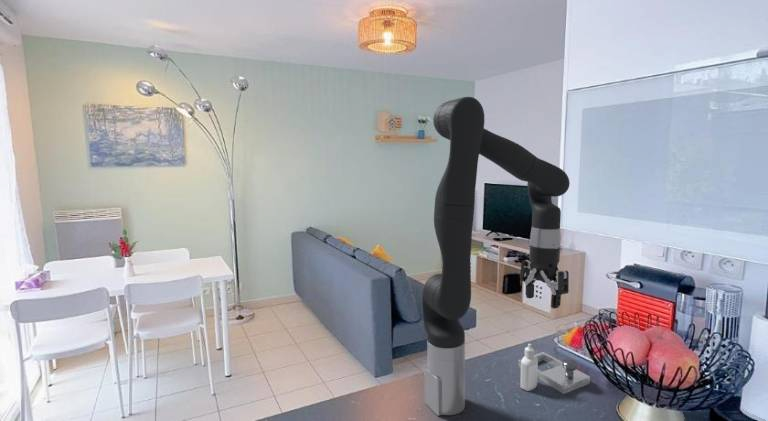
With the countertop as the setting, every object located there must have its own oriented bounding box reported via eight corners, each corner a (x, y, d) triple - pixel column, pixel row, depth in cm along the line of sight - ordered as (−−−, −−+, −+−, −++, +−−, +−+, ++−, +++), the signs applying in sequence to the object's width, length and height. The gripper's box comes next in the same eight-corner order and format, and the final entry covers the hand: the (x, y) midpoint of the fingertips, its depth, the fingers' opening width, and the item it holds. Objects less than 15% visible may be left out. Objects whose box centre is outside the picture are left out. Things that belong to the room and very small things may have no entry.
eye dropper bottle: (543, 388, 108) (544, 346, 106) (524, 392, 106) (525, 349, 105) (533, 380, 112) (534, 339, 110) (515, 383, 111) (515, 342, 109)
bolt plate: (563, 394, 105) (564, 371, 104) (518, 366, 119) (518, 346, 119) (589, 383, 110) (590, 362, 109) (543, 357, 124) (543, 338, 123)
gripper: (514, 240, 113) (512, 296, 115) (557, 250, 100) (553, 314, 102) (534, 238, 116) (532, 293, 118) (577, 247, 103) (574, 309, 105)
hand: (542, 302), depth 110 cm, fingers open, 8 cm apart
